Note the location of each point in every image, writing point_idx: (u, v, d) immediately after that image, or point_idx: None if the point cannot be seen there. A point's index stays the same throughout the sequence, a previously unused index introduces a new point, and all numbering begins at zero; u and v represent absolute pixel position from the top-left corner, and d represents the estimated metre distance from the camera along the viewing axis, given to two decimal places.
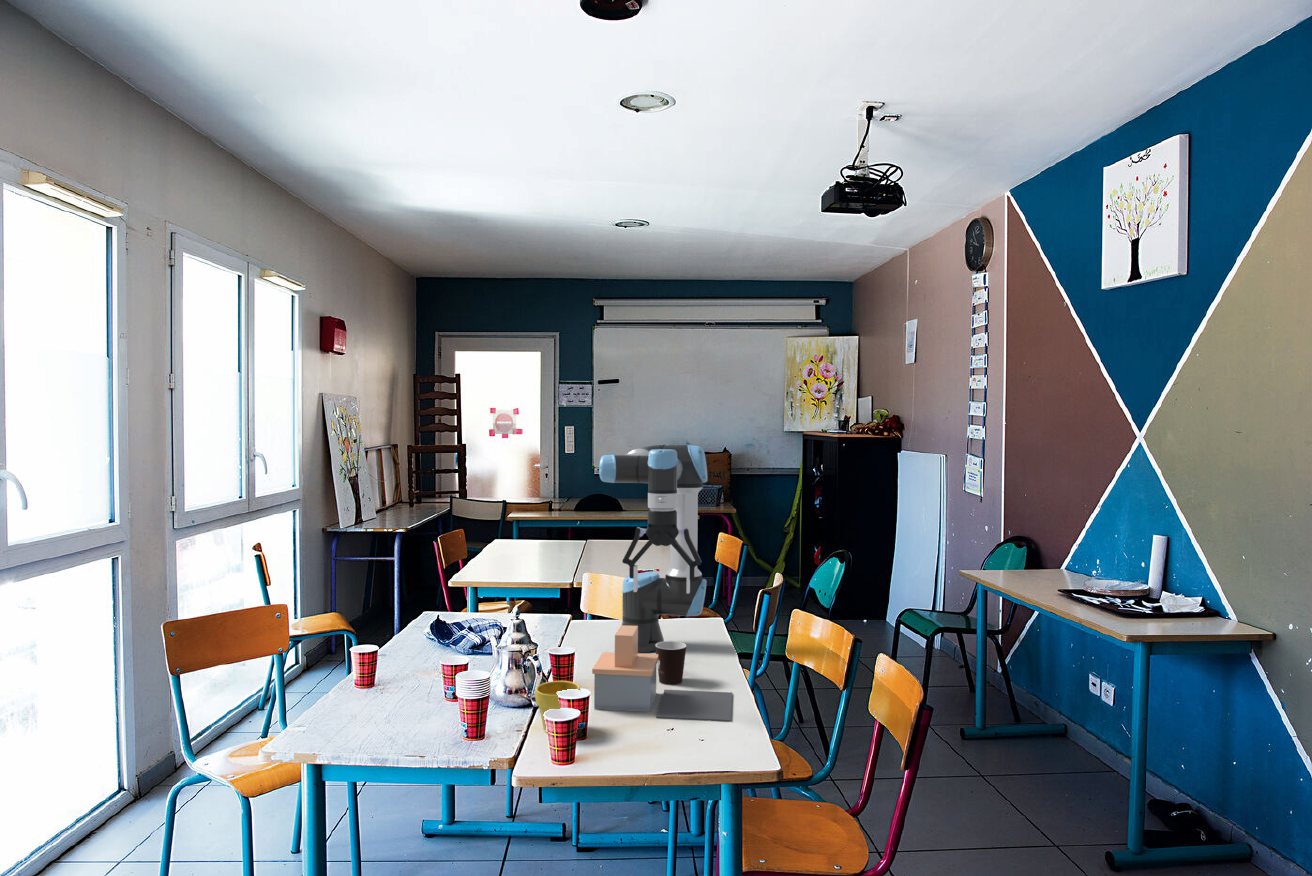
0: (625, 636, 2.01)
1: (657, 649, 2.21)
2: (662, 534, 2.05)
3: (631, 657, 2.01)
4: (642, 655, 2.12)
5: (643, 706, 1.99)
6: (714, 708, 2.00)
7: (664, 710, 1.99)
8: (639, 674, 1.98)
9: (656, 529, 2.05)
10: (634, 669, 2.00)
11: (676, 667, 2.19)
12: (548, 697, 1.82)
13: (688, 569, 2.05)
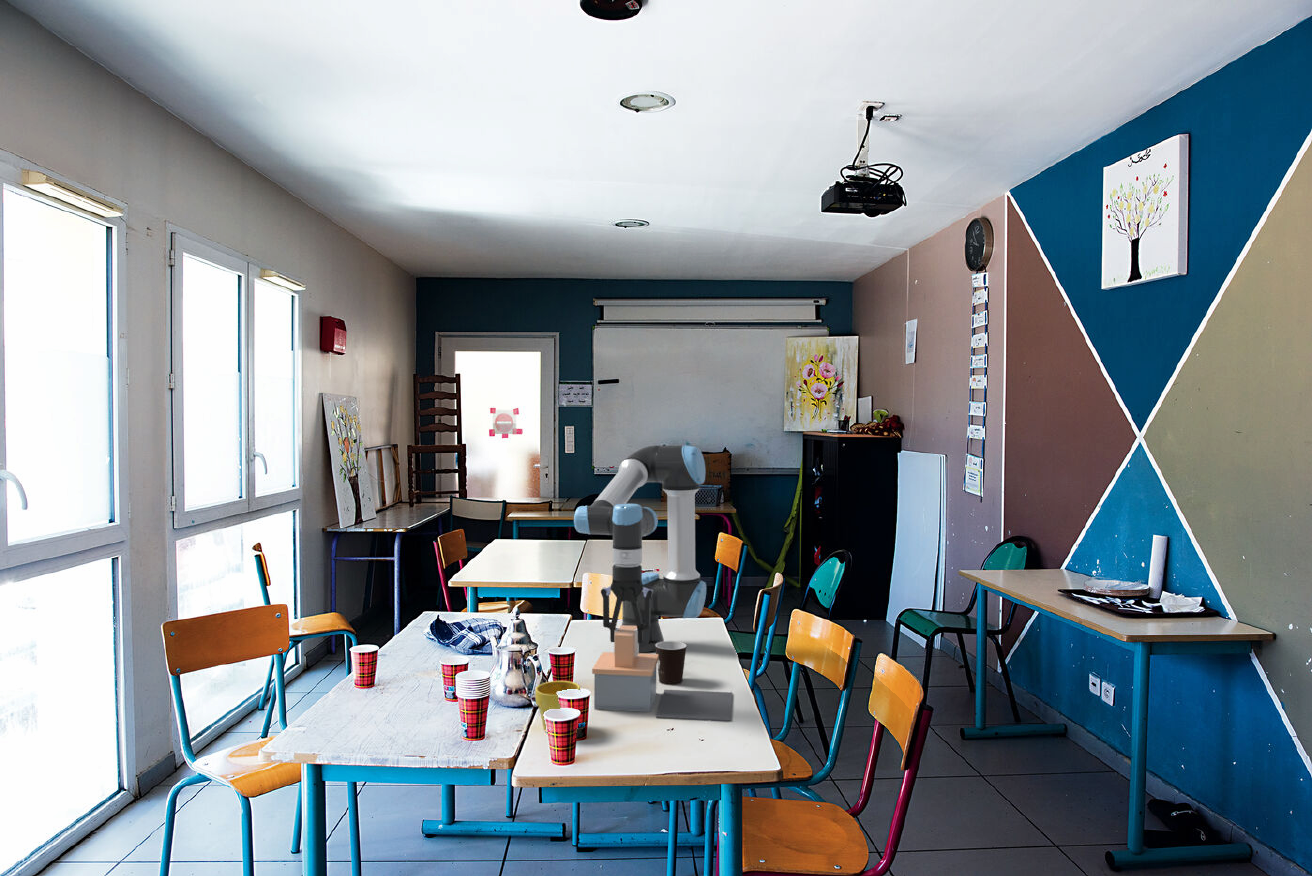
0: (625, 636, 2.01)
1: (657, 649, 2.21)
2: (626, 589, 2.05)
3: (631, 657, 2.01)
4: (642, 655, 2.12)
5: (643, 706, 1.99)
6: (714, 708, 2.00)
7: (664, 710, 1.99)
8: (639, 674, 1.98)
9: (619, 582, 2.05)
10: (634, 669, 2.00)
11: (676, 667, 2.19)
12: (548, 697, 1.82)
13: (636, 633, 2.05)
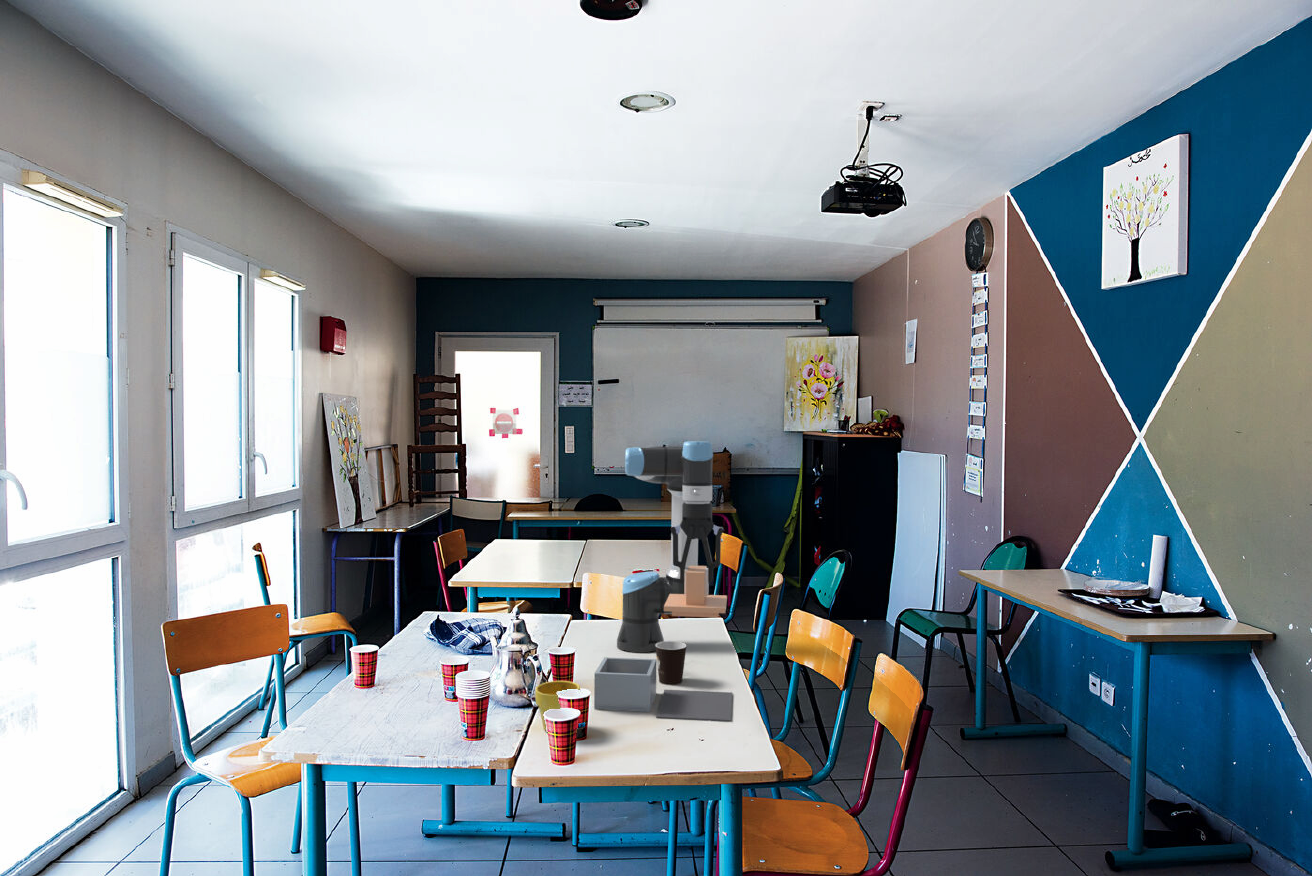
0: (697, 573, 1.98)
1: (657, 649, 2.21)
2: (697, 527, 2.02)
3: (703, 595, 1.98)
4: (711, 596, 2.09)
5: (643, 706, 1.99)
6: (714, 708, 2.00)
7: (664, 710, 1.99)
8: (712, 611, 1.95)
9: (689, 519, 2.02)
10: (706, 606, 1.96)
11: (676, 667, 2.19)
12: (548, 697, 1.82)
13: (707, 571, 2.01)
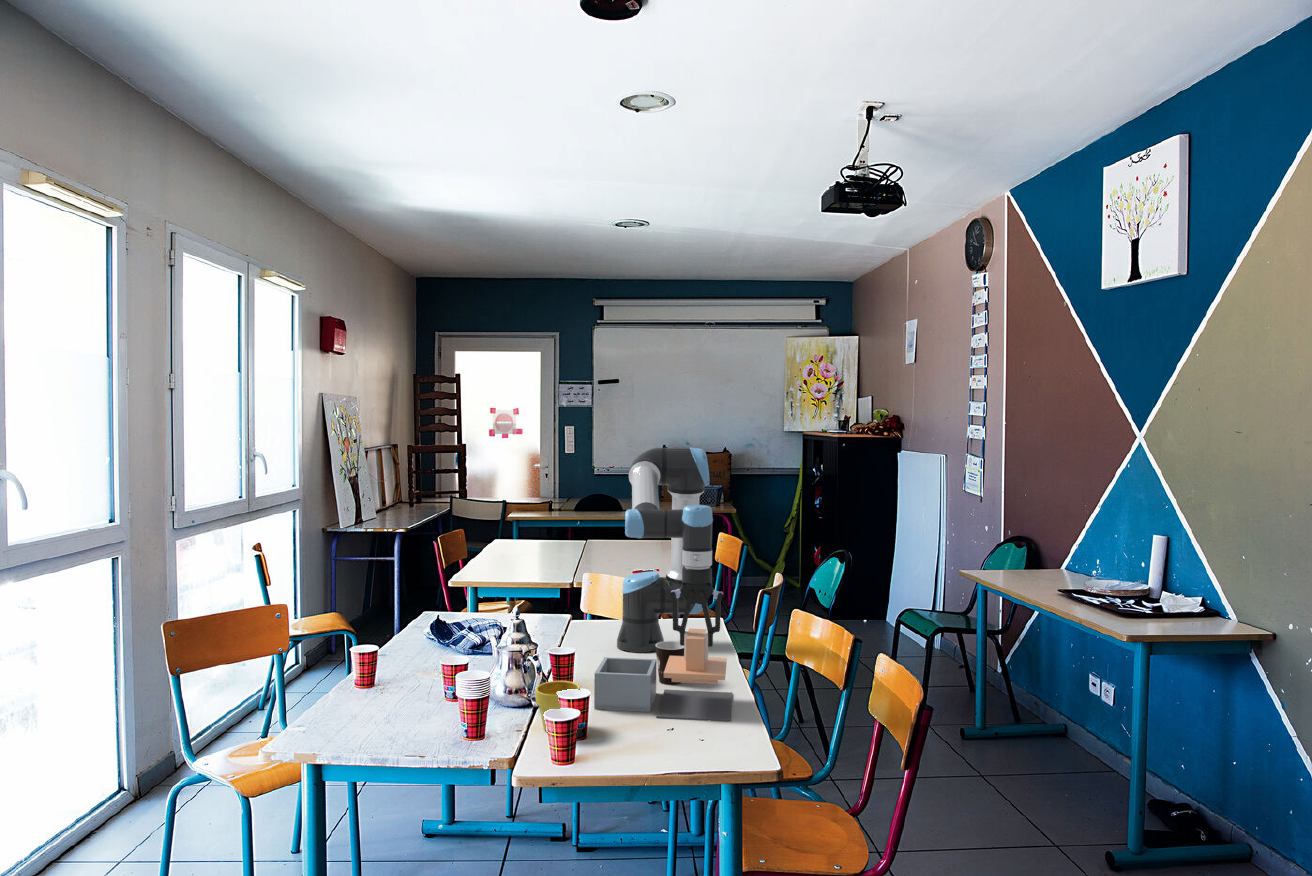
0: (696, 639, 1.98)
1: (657, 649, 2.21)
2: (697, 592, 2.02)
3: (703, 661, 1.98)
4: (710, 658, 2.09)
5: (643, 706, 1.99)
6: (714, 708, 2.00)
7: (664, 710, 1.99)
8: (712, 678, 1.95)
9: (689, 584, 2.02)
10: (706, 673, 1.96)
11: None
12: (548, 697, 1.82)
13: (706, 636, 2.02)
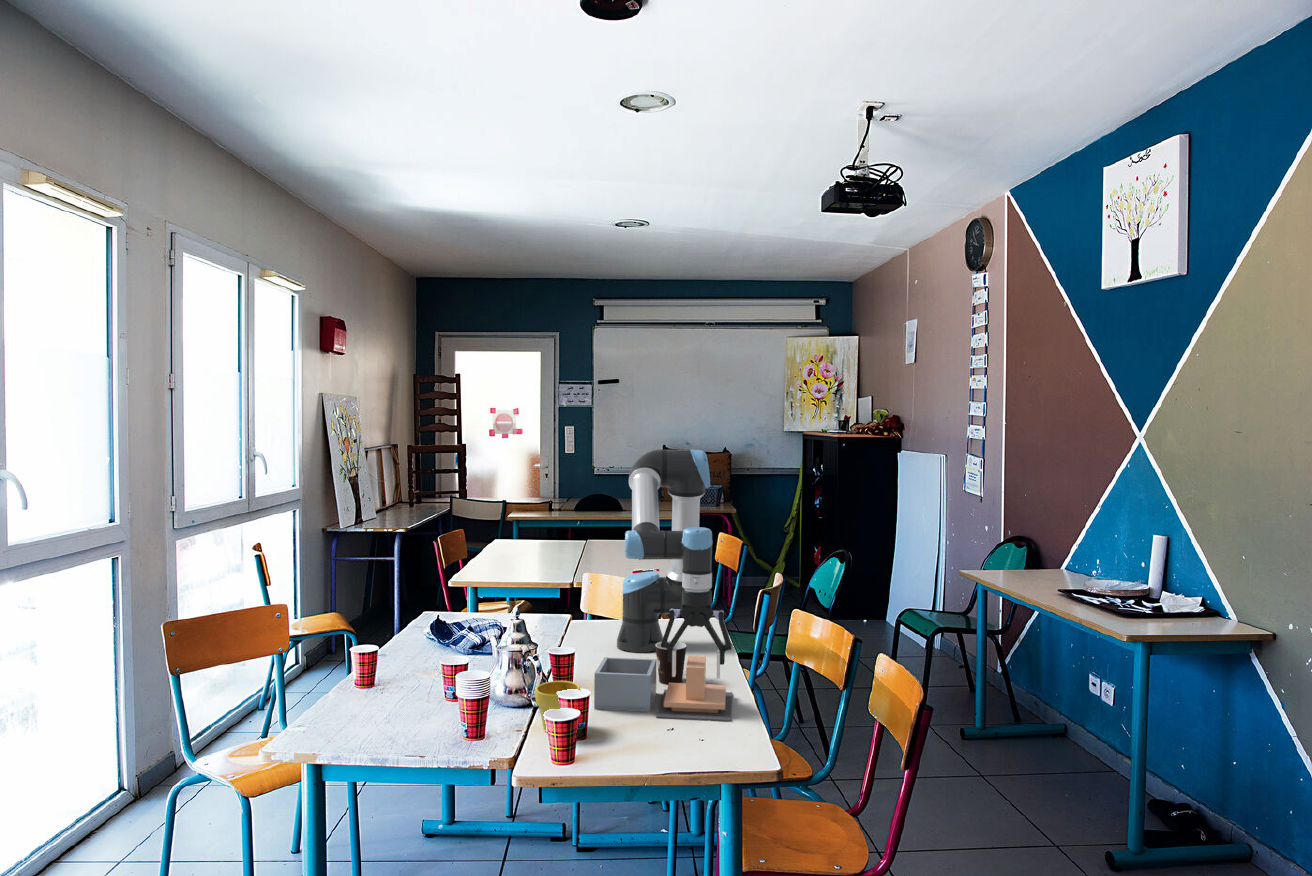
0: (696, 668, 1.98)
1: (657, 649, 2.21)
2: (697, 615, 2.02)
3: (703, 690, 1.98)
4: (710, 686, 2.09)
5: (643, 706, 1.99)
6: None
7: (664, 710, 1.99)
8: (712, 707, 1.96)
9: (690, 609, 2.02)
10: (706, 702, 1.97)
11: (676, 667, 2.19)
12: (548, 697, 1.82)
13: (718, 654, 2.01)
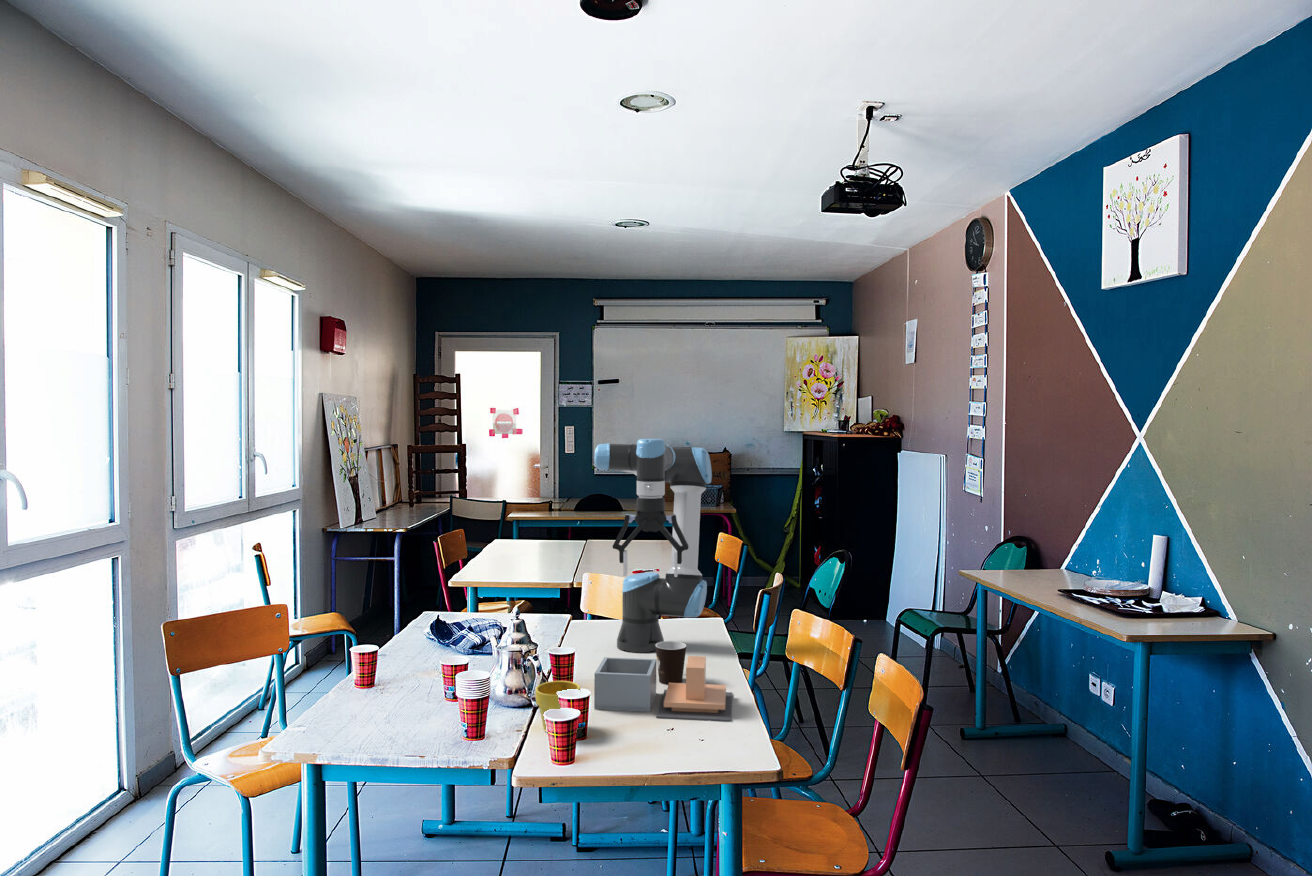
0: (696, 668, 1.98)
1: (657, 649, 2.21)
2: (650, 520, 2.13)
3: (703, 690, 1.98)
4: (710, 686, 2.09)
5: (643, 706, 1.99)
6: None
7: (664, 710, 1.99)
8: (712, 707, 1.96)
9: (645, 515, 2.13)
10: (706, 702, 1.97)
11: (676, 667, 2.19)
12: (548, 697, 1.82)
13: (676, 554, 2.13)
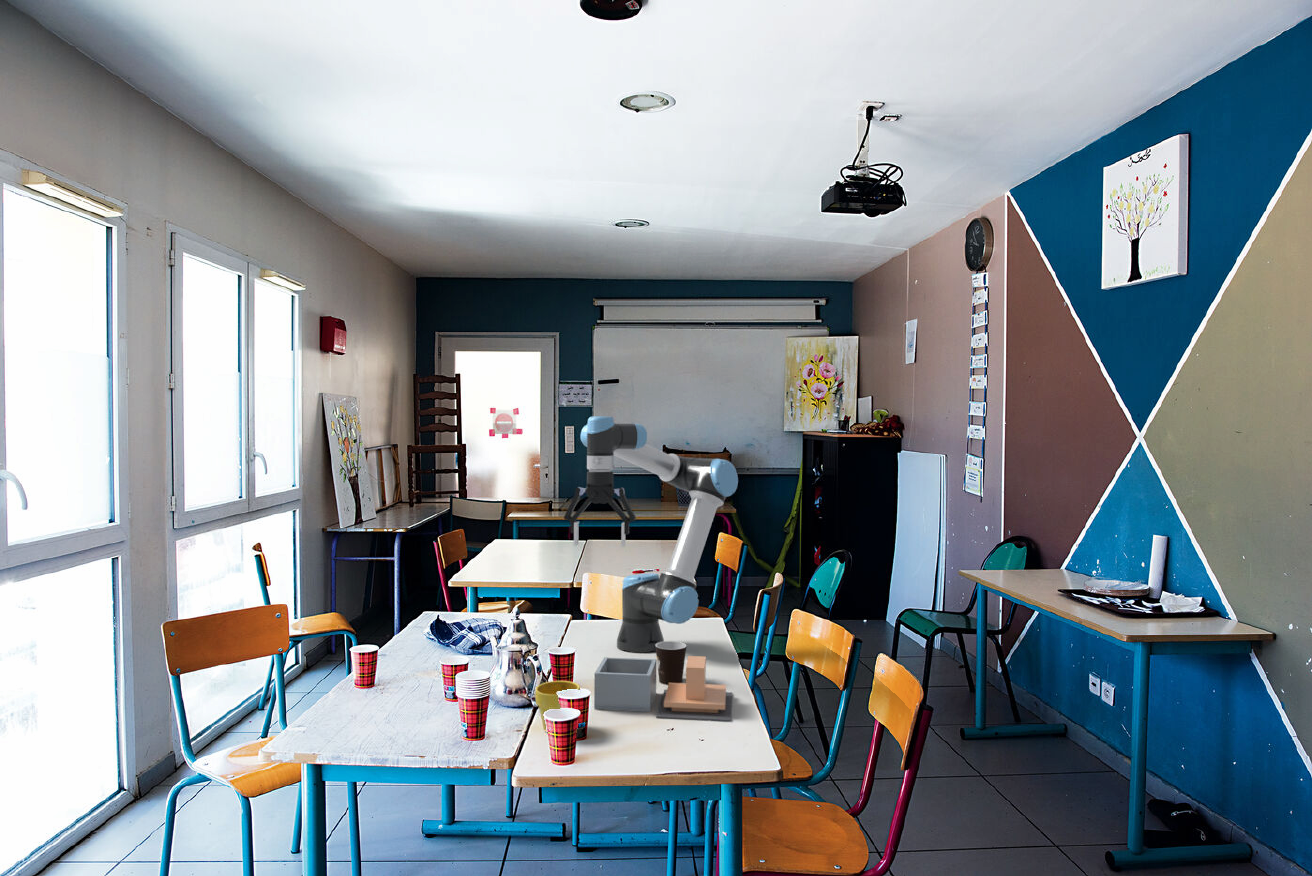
0: (696, 668, 1.98)
1: (657, 649, 2.21)
2: (599, 493, 2.27)
3: (703, 690, 1.98)
4: (710, 686, 2.09)
5: (643, 706, 1.99)
6: None
7: (664, 710, 1.99)
8: (712, 707, 1.96)
9: (594, 488, 2.27)
10: (706, 702, 1.97)
11: (676, 667, 2.19)
12: (548, 697, 1.82)
13: (623, 524, 2.26)
